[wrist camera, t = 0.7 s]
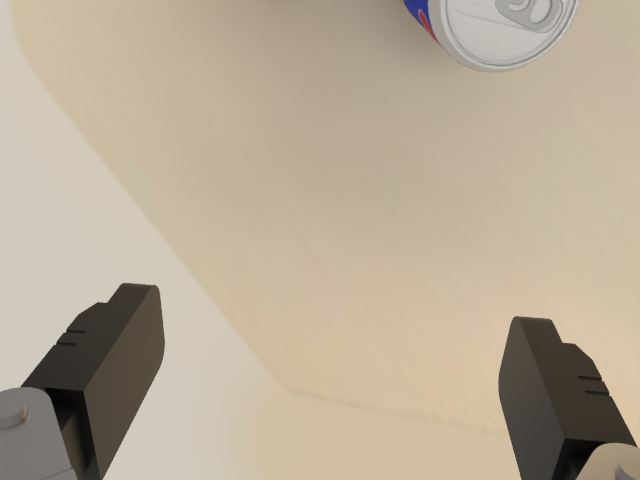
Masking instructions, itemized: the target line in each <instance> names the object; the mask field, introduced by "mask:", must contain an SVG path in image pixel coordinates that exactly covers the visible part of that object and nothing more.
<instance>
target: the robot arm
mask: <svg viewBox="0 0 640 480" xmlns="http://www.w3.org/2000/svg"><path fill="white" fill-rule="evenodd" d="M164 347H165V339H164V330H163V319H162V310H161V301H160V292H159V289H158V287H157V286H156V285H145V284H133V283H123V284H121V285H120V286H119V288H118V289H117V290H116V292H115V293H114V294H113V296H112V297H111V298H110V300H109V301H108V302H107V303H100V302H98V303H96V304H94V305H93V306H91V307H90V308H88V309H86V310H85V311H83V312H82V313H80V314H79V315H78V316H77V317H76V318H75V320H74V321H73V322H72V323H71V324H70V326H69V327H68V328H67V330H66V333H63V335H62V336H61V337H60V338H59V339H58V341H57V343H56V345H54V346H53V347H52V348H51V349H50V351H49V352H48V353H47V354H46V356H45V357H44V358H43V359H42V361H41V362H40V363H39V364H38V366H37V367H36V368H35V369H34V371H33V372H32V373H31V374H30V376H29V377H28V378H27V379H26V381H25V382H24V383H23V384H22V385H21V387H20V388H19V387H18V388H12V389H8V390H4V391H2V392H0V480H103V478H104V476H105V474H106V472H107V470H108V468H109V466H110V464H111V462H112V460H113V458H114V456H115V454H116V452H117V451H118V449H119V446H120V445H121V442H122V441H123V439H124V437H125V435H126V433H127V431H128V429H129V427H130V425H131V423H132V421H133V419H134V417H135V415H136V413H137V411H138V409H139V407H140V405H141V403H142V402H143V400H144V397H145V396H146V394H147V391H148V389H149V388H150V386H151V384H152V382H153V380H154V378H155V376H156V374H157V372H158V370H159V368H160V366H161V363H162V360H163V355H164ZM499 397H500V402H501V406H502V409H503V413H504V417H505V420H506V424H507V428H508V431H509V435H510V439H511V442H512V446H513V450H514V453H515V457H516V461H517V464H518V468H519V472H520V476H521V479H522V480H640V448H638V447H637V445H636V443H635V441H634V439H633V437H632V435H631V433H630V431H629V429H628V427H627V425H626V424H625V422H624V420H623V418H622V416H621V414H620V412H619V410H618V408H617V406H616V404H615V402H614V400H613V398H612V397H611V396H609V391H608V389H607V387H606V385H605V383H604V382H603V381H602V377H601V375H600V373H599V372H598V370H597V368H596V366H595V364H594V362H593V360H592V359H591V358H590V357H589V356H587V355H586V354H585V353H584V352H583V351H582V350H581V349H580V348H579V347H578V346H576V345H575V344H570V343H562V341H561V339H560V336H559V334H558V332H557V330H556V328H555V326H554V324H553V322H552V320H550V319H543V318H531V317H519V316H515V317H514V318H513V320H512V322H511V325H510V329H509V334H508V338H507V342H506V346H505V351H504V355H503V359H502V363H501V367H500V372H499Z"/></svg>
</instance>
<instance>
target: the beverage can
mask: <svg viewBox="0 0 640 480" xmlns="http://www.w3.org/2000/svg"><path fill="white" fill-rule="evenodd" d="M404 3H405V5H406V7H407V8H408V10H409V11H410V13H411V14H412V15H413V16H414V17H415V18H416V19H417V20H418V22H419V23H420V24H421V25H422V26H423V27H424V28H425V29H426V30H427V31H428V32H429V34H430V35H431V36H432V37H433V38H434V39H435V40H436V41H437V42H438V43H439V45H440V46H441V47H442V48H443V49H444V50H445V51H446V52H447V53H448V54H449V55H450V56H451V57H452V58H453V59H455V60H456V61H457V62H459V63H461V64H462V65H464V66H466V67H468V68H471V69H474V70H477V71H483V72H505V71H511V70H515V69H518V68H521V67H524V66H526V65H528V64H530V63H532V62H534V61H535V60H537V59H538V58H540V57H541V56H543V55H544V54H546V53H547V52H548V51H549V50H551V49H552V48H553V47H554V46H555V45H556V44H557V43H558V42H559V40H560V39H561V38H562V37H563V36H564V34H565V33H566V31H567V30H568V28H569V27H570V25H571V23H572V21H573V19H574V17H575V15H576V12H577V9H578V6H579V3H580V0H404Z"/></svg>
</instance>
